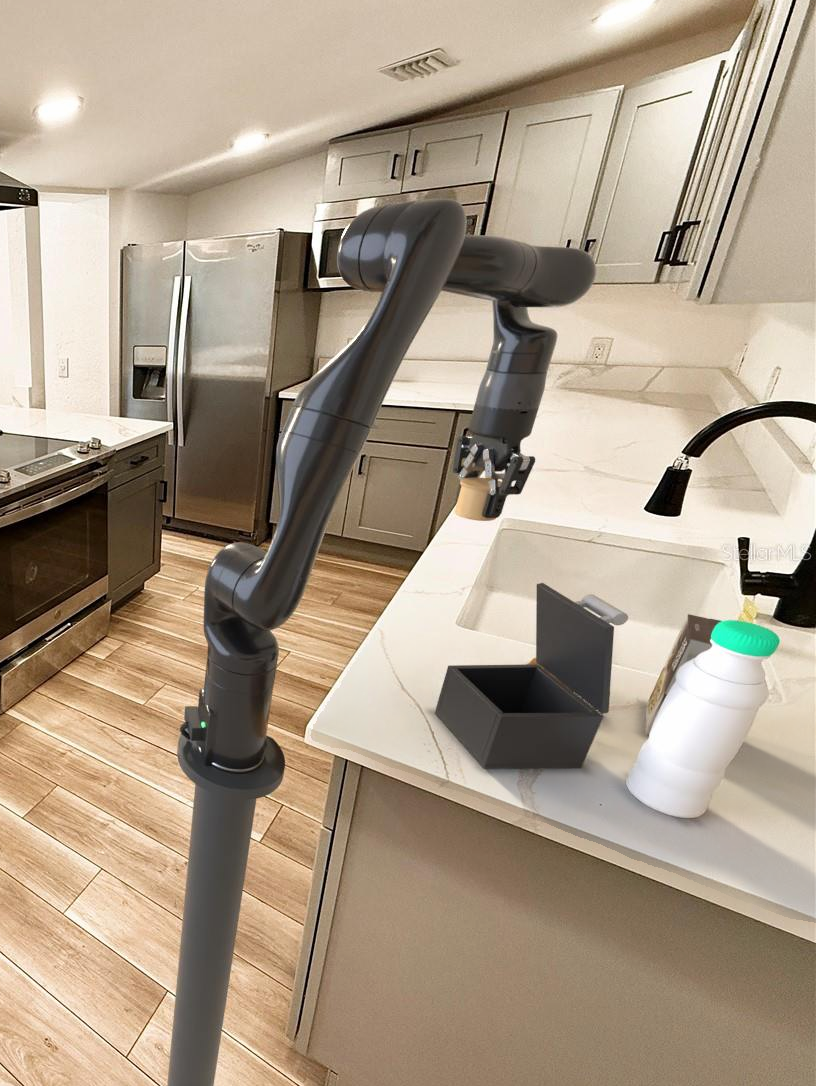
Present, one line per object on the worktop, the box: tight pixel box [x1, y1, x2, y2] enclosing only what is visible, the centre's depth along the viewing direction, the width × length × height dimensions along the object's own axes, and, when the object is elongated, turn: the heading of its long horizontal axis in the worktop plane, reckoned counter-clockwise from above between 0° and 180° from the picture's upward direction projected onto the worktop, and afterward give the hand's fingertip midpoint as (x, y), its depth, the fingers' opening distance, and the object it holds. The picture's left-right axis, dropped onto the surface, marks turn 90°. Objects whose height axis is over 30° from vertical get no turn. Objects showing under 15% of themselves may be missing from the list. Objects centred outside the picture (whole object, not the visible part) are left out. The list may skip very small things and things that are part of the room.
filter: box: [454, 477, 502, 522], centre depth 95 cm, size 6×6×5 cm
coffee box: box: [644, 613, 722, 736], centre depth 85 cm, size 9×6×16 cm
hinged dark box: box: [434, 663, 604, 770], centre depth 86 cm, size 13×12×9 cm
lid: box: [535, 582, 629, 715], centre depth 81 cm, size 13×12×5 cm
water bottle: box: [625, 619, 781, 819], centre depth 72 cm, size 7×7×25 cm
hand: (476, 509), depth 96 cm, fingers closed on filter, 6 cm apart
